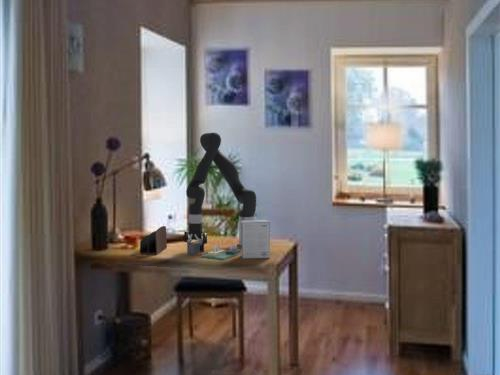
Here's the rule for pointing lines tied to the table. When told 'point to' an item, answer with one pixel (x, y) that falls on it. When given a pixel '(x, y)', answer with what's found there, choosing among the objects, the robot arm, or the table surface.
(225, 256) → the pcb board
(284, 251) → the table surface
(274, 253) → the table surface
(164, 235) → the letter holder
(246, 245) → the hard drive box
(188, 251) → the plug housing
